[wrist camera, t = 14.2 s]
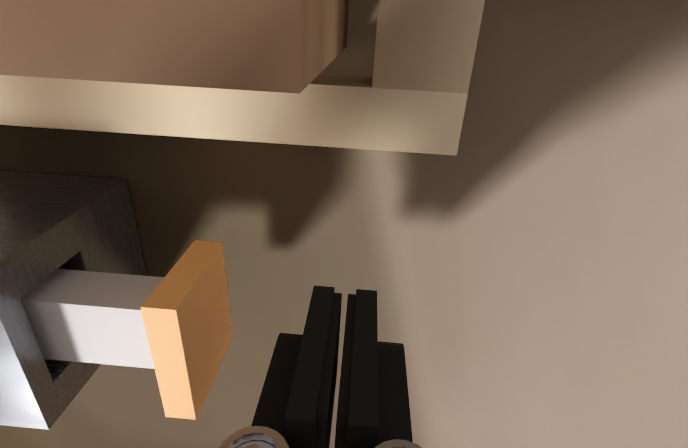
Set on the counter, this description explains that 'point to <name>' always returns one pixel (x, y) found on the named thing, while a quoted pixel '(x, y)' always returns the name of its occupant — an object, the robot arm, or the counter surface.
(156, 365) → the plunger
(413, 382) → the counter surface
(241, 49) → the block
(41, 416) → the grey metal housing
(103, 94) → the pallet
